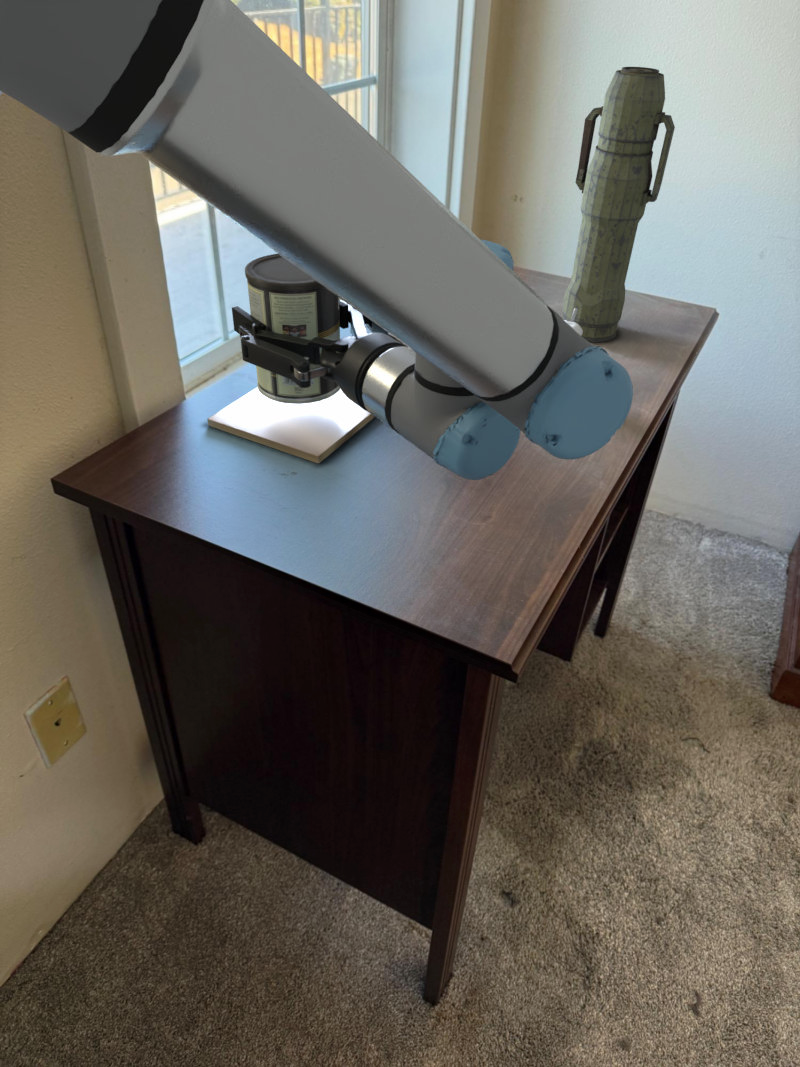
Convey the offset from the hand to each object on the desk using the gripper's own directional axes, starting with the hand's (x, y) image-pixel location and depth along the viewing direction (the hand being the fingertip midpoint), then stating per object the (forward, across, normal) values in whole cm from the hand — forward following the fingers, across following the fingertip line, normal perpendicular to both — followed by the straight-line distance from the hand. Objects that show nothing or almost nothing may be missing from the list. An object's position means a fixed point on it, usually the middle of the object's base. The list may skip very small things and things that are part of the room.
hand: (277, 308), depth 88 cm
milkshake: (-16, +33, -13) cm, 39 cm away
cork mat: (-4, 0, -12) cm, 13 cm away
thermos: (-6, +51, -13) cm, 53 cm away
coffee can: (-4, 0, -8) cm, 9 cm away
